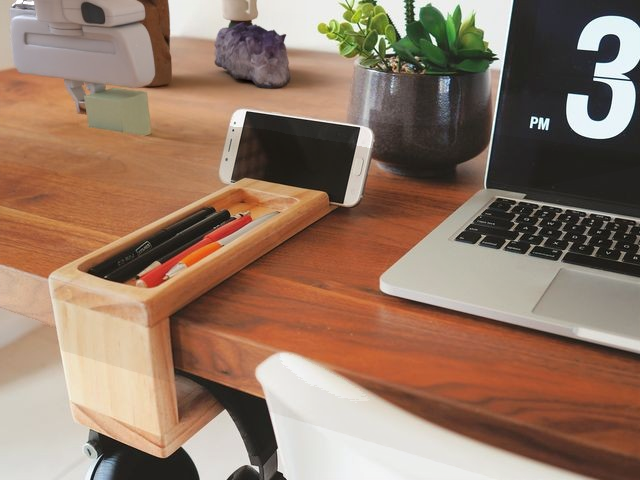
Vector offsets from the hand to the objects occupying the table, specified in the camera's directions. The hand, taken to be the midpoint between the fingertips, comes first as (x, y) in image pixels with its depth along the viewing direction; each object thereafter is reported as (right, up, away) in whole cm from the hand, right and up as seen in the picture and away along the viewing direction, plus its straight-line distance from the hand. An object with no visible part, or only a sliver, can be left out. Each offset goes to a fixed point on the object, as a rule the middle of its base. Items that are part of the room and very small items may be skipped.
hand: (89, 114), depth 96 cm
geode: (+17, +14, +34) cm, 41 cm away
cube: (+4, -3, -1) cm, 5 cm away
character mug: (+11, +25, +55) cm, 61 cm away
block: (-1, +12, +28) cm, 30 cm away
